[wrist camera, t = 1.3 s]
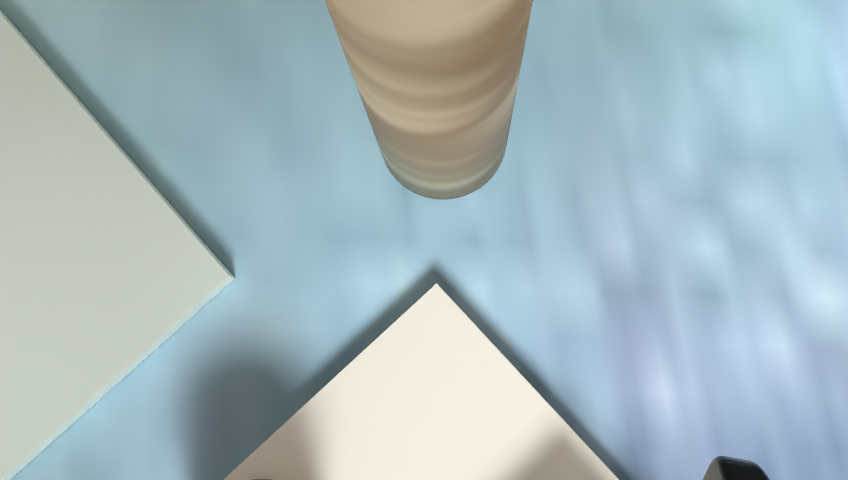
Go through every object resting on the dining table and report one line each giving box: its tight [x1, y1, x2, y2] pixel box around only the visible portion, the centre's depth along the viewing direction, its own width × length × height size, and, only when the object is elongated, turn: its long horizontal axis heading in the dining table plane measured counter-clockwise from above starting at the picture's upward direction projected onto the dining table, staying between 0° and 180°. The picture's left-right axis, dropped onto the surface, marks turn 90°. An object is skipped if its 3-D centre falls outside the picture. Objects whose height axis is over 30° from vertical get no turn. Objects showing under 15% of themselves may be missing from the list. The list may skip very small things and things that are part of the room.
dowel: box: [325, 0, 533, 199], centre depth 17 cm, size 4×4×12 cm
